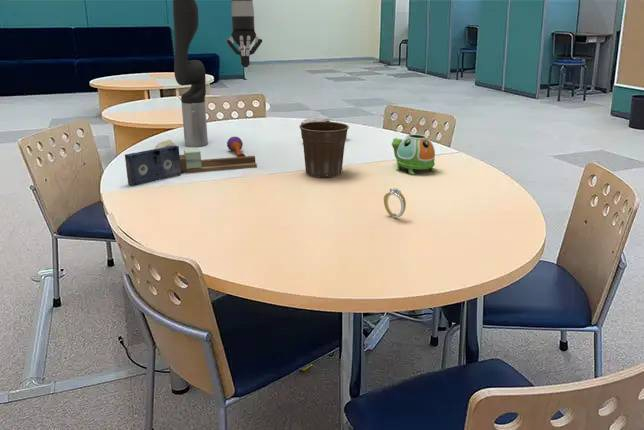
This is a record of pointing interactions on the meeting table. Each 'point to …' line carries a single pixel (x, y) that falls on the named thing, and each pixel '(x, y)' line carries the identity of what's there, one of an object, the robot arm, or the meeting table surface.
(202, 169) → the rail
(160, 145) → the fossil replica
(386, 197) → the ring
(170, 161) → the vhs cassette tape
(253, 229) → the meeting table surface
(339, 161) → the plant pot
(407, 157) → the turtle holder
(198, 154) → the keeper
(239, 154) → the kendama
